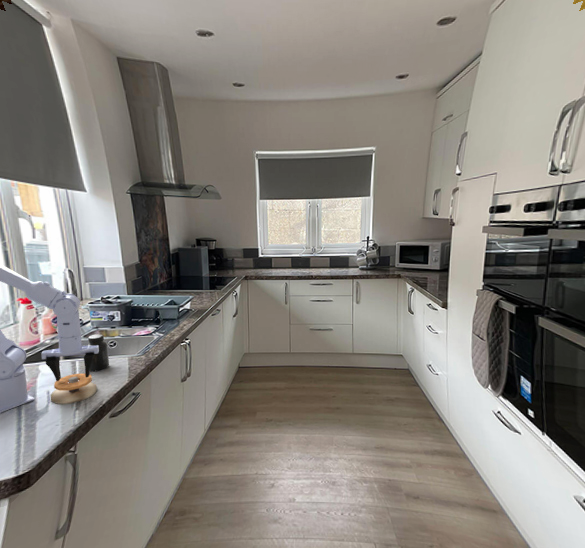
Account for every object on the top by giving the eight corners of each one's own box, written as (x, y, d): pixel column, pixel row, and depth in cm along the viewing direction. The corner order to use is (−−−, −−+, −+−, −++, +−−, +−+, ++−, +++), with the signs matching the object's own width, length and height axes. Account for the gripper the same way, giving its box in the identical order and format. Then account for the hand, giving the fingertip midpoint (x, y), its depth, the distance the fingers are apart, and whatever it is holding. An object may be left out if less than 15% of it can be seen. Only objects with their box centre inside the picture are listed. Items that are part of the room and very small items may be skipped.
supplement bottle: (104, 362, 130) (102, 331, 128) (112, 367, 125) (110, 335, 124) (84, 368, 124) (81, 336, 123) (92, 373, 120) (89, 340, 118)
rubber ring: (65, 393, 99) (65, 390, 99) (48, 385, 104) (47, 382, 104) (98, 380, 107) (98, 378, 107) (80, 373, 112) (80, 371, 112)
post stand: (64, 408, 98) (63, 391, 97) (42, 397, 104) (41, 381, 103) (105, 390, 108) (104, 375, 108) (82, 381, 114) (81, 367, 113)
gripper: (99, 328, 110) (102, 369, 112) (45, 333, 104) (49, 375, 107) (95, 335, 103) (98, 378, 105) (37, 341, 98) (41, 385, 100)
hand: (73, 377), depth 105 cm, fingers open, 7 cm apart
